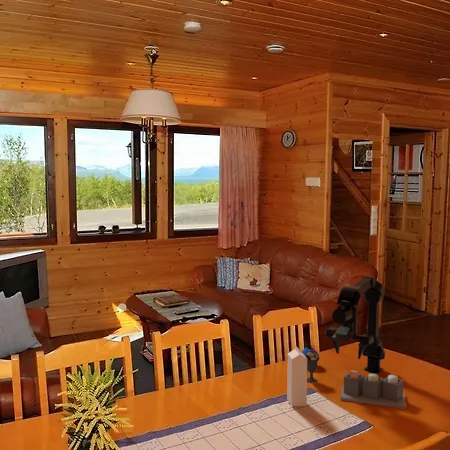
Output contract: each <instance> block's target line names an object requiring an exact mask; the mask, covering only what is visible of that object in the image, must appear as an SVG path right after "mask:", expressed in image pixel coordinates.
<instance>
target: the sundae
mask: <svg viewBox="0 0 450 450" xmlns="http://www.w3.org/2000/svg"><path fill="white" fill-rule="evenodd" d="M312 348H314V351H313V350H310V351H309V352H308V353H307V355H305V356H306V358H307V373H308V372H309V377H307V383H311V384H314V383H317V382H318V379H316V378H315V377H314V373H315V372H316V371H317V368H318V362H319V361H320V356H319V357H318V356H317V354H316V353H315V352H316V351H317V350H316V348H315V345H313V346H312ZM315 350H316V351H315Z"/></svg>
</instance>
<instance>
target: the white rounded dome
mask: <svg viewBox="0 0 450 450" xmlns="http://www.w3.org/2000/svg"><path fill="white" fill-rule="evenodd" d="M387 377H388V382H391V383H395V384H397V383H398V379H399V377H398V376H397V375H396V374H395V375H394V374H389V375H387Z"/></svg>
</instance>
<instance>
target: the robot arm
mask: <svg viewBox="0 0 450 450" xmlns="http://www.w3.org/2000/svg"><path fill="white" fill-rule="evenodd" d="M385 292H386V289H385V286H384V285H383V283H381V282H379V281H378V280H377V279H376V277H373V276H362V278H361V279H360V280H359V281H357V282H356V283H355V284H353V285H346V286H343V287H342V288H341V290H340V291H339V295H338V297H337V301H336V305H337V306H336V307H337V308H336V309H334V310H333V311H332V314H331V317H332V319H333V321H334V322H335V323H336V324H340V325H339V327H336V326H329V327H328V328H326V329H325V331H324V336H326V337H327V338H328V339H329V340H330V341H332V344H333V346H334V350H335V353H336V354H337V355H339V354H340V349H341V347H340V345H341V342H342V341H343V342H348V341H349V340H350V339H351V340H357V341H358V342H359V343H358V353H357V359H358V360H360V359H361V358H362V355H363V357H367V358H366V366H365V367H364V368H363V370H364V371H367V372H371V373H373V374H379V373H380V372H381V371H383V369H384V368H383V367H381V361H382V360H385V359H386V350H385V349H384V347H383V341H382V339H381V338H380V336H379V335H380V334H379V330H380V329H379V328H380V327H379V325H380V303H381V302H382V301H383V299H384V296H385ZM363 294H364V299H365V301H366V302H367V329H366V330H367V333H363V334H358V333H359V332H358V331H359V330H357V327H358V324H359V320H358V307H359V305H360V302H361V300H362V295H363Z"/></svg>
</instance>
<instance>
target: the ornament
mask: <svg viewBox="0 0 450 450" xmlns="http://www.w3.org/2000/svg"><path fill="white" fill-rule="evenodd" d="M314 349H315V347H314V348H313V346H312V345H311V344H310V343H309V344H308V345H307V347H305V348H304V349H302V350H301V352H302V353H303V354H304V355H307V353H308V352H309V351H310V350H313V351H314ZM315 351H316V352H315V353H316V354H317V356H318V357H319V358H320V354H319V353H318V351H317V350H316V349H315Z"/></svg>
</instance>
